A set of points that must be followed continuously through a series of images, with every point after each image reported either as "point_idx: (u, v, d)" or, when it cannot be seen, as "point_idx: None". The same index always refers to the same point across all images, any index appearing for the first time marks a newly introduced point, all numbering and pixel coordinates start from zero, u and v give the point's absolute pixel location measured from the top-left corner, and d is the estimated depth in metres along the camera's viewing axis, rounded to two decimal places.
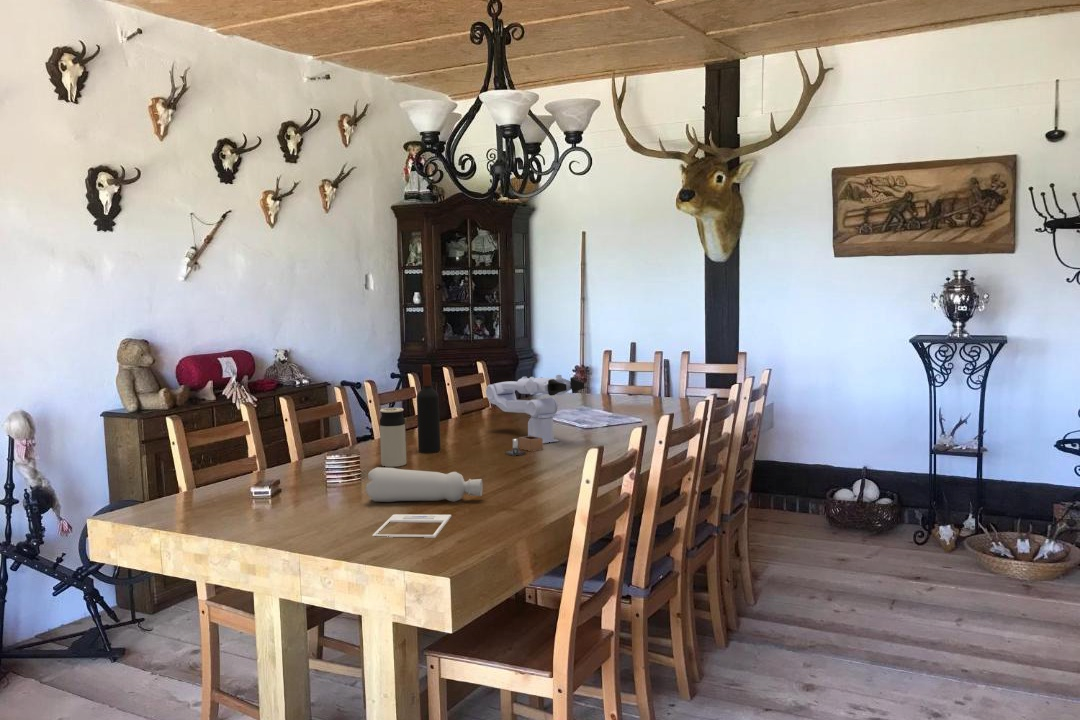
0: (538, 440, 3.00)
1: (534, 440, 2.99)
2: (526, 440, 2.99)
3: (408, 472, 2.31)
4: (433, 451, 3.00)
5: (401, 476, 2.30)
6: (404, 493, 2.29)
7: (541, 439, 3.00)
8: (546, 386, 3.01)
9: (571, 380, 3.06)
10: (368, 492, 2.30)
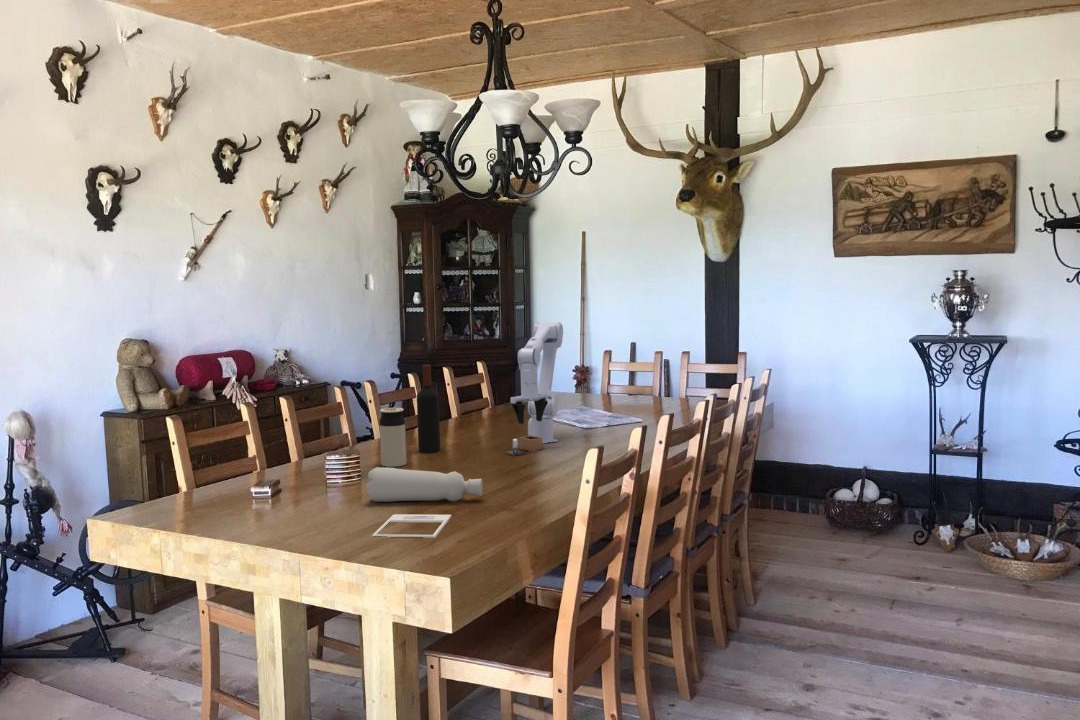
0: (538, 440, 3.00)
1: (534, 440, 2.99)
2: (526, 440, 2.99)
3: (408, 472, 2.31)
4: (433, 451, 3.00)
5: (401, 476, 2.30)
6: (404, 493, 2.29)
7: (541, 439, 3.00)
8: None
9: (541, 402, 3.01)
10: (368, 492, 2.30)
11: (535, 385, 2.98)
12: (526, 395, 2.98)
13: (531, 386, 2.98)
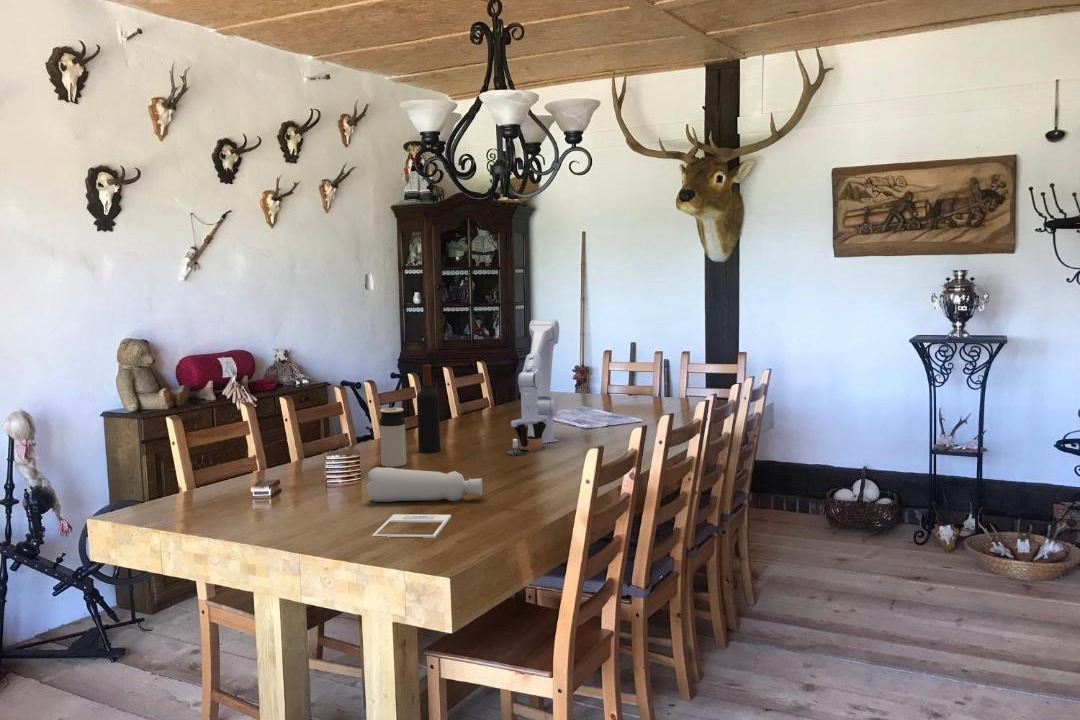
0: (538, 440, 3.00)
1: (534, 440, 2.99)
2: None
3: (408, 472, 2.31)
4: (433, 451, 3.00)
5: (401, 476, 2.30)
6: (404, 493, 2.29)
7: (541, 439, 3.00)
8: None
9: (539, 426, 3.02)
10: (368, 492, 2.30)
11: (536, 408, 2.99)
12: (527, 418, 2.99)
13: (532, 409, 2.98)
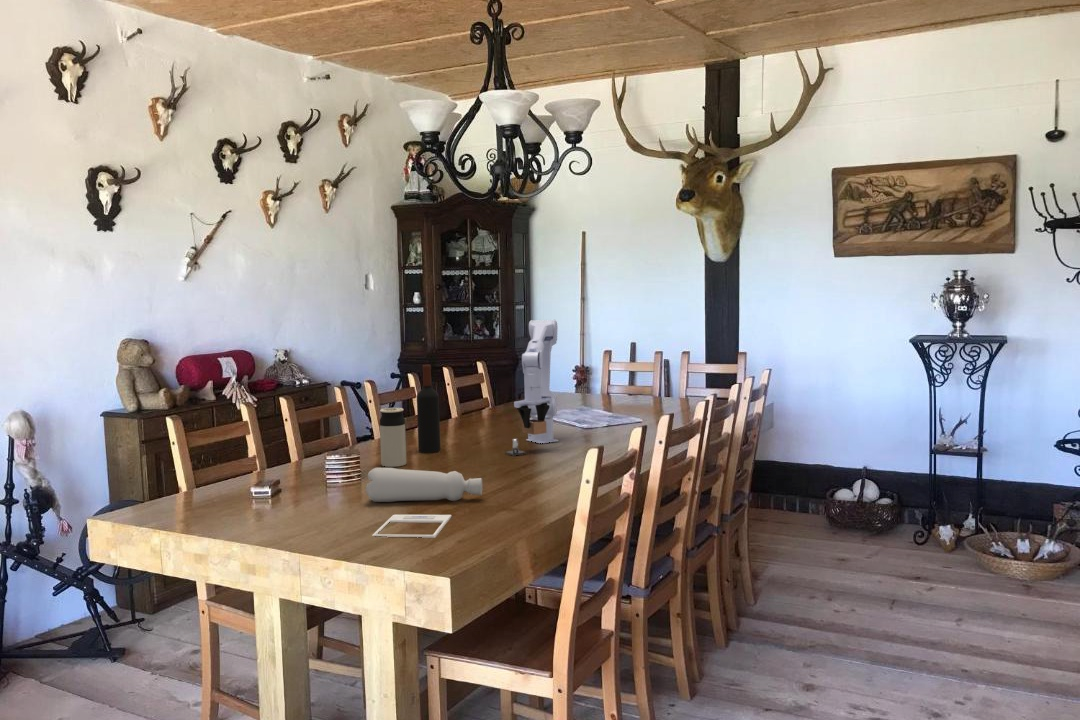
0: (542, 423, 2.95)
1: (538, 423, 2.94)
2: None
3: (408, 472, 2.31)
4: (433, 451, 3.00)
5: (401, 476, 2.30)
6: (405, 493, 2.29)
7: (545, 422, 2.96)
8: None
9: (543, 407, 2.97)
10: (368, 492, 2.30)
11: (539, 389, 2.94)
12: (530, 399, 2.94)
13: (535, 390, 2.94)
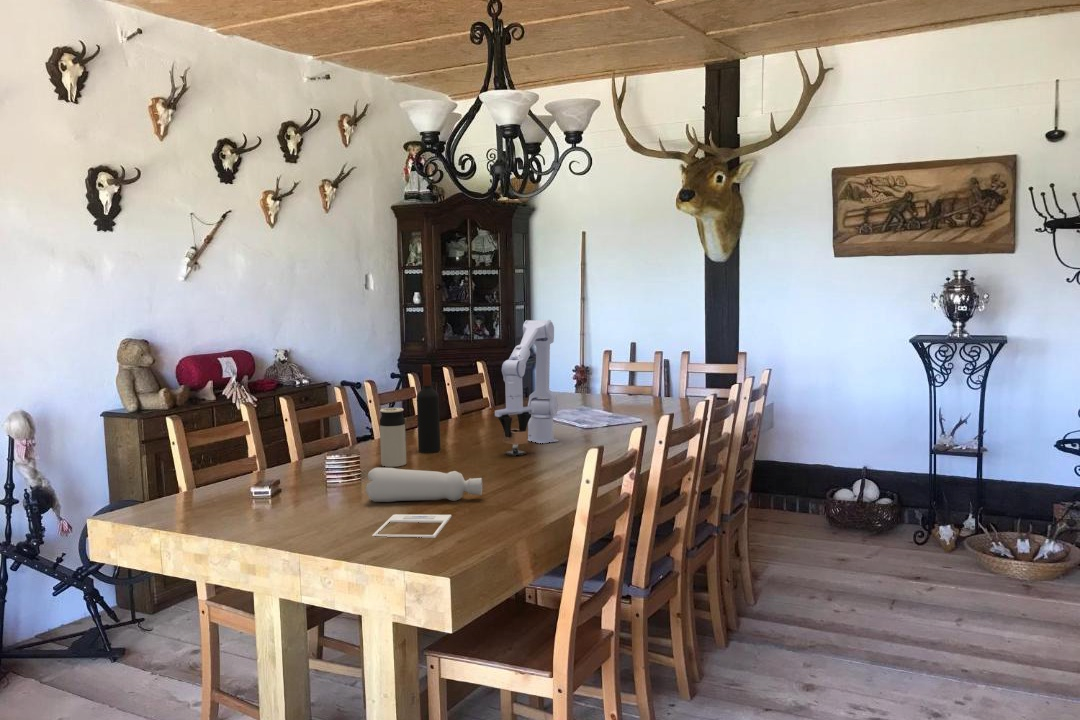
0: (523, 433, 2.91)
1: (519, 433, 2.90)
2: None
3: (408, 472, 2.31)
4: (433, 451, 3.00)
5: (402, 476, 2.30)
6: (405, 493, 2.29)
7: (526, 432, 2.91)
8: None
9: (524, 416, 2.93)
10: (368, 492, 2.30)
11: (520, 398, 2.90)
12: (511, 408, 2.90)
13: (516, 399, 2.89)
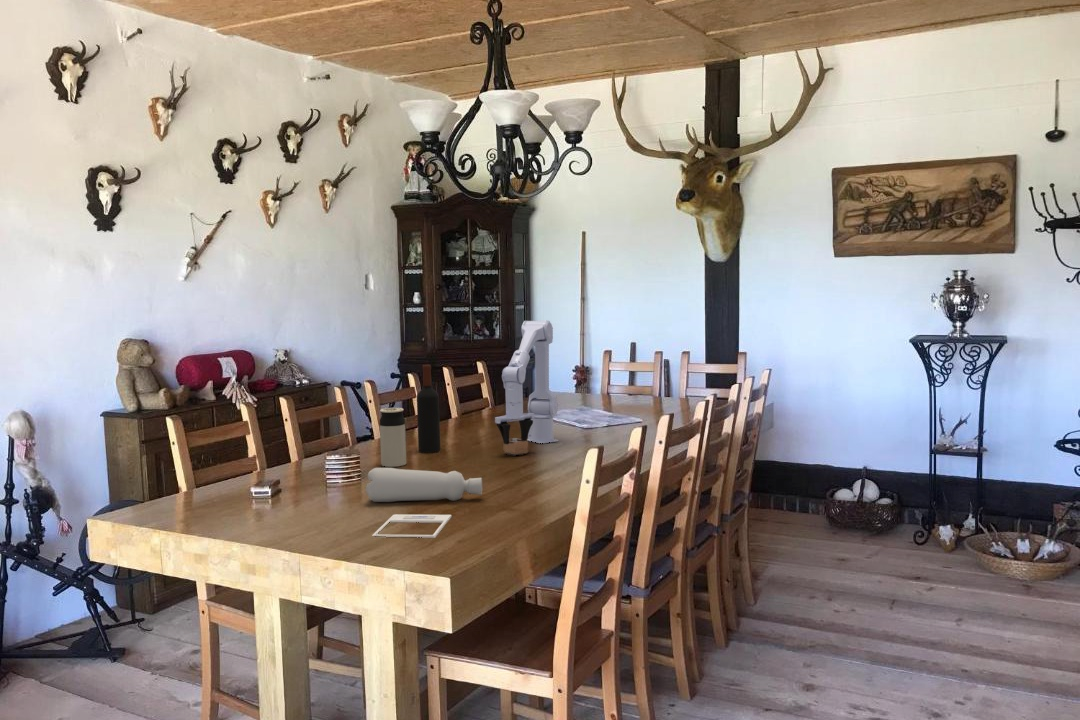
0: (523, 443, 2.91)
1: (519, 443, 2.90)
2: (511, 443, 2.91)
3: (408, 472, 2.31)
4: (433, 451, 3.00)
5: (402, 476, 2.30)
6: (405, 493, 2.29)
7: (526, 441, 2.92)
8: None
9: (526, 422, 2.93)
10: (368, 492, 2.30)
11: (520, 404, 2.90)
12: (511, 415, 2.90)
13: (516, 406, 2.90)
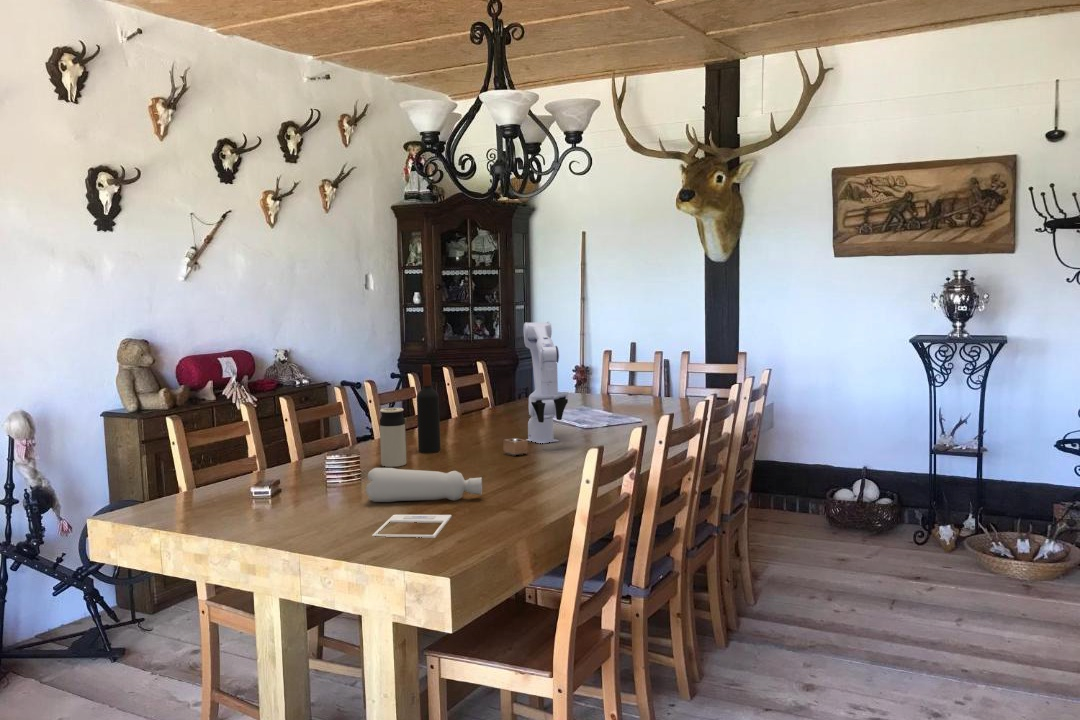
0: (523, 443, 2.91)
1: (519, 443, 2.90)
2: (511, 443, 2.91)
3: (408, 472, 2.32)
4: (433, 451, 3.00)
5: (402, 476, 2.30)
6: (405, 493, 2.30)
7: (526, 441, 2.92)
8: None
9: (561, 401, 3.00)
10: (368, 492, 2.30)
11: (555, 384, 2.97)
12: (546, 394, 2.97)
13: (551, 385, 2.96)
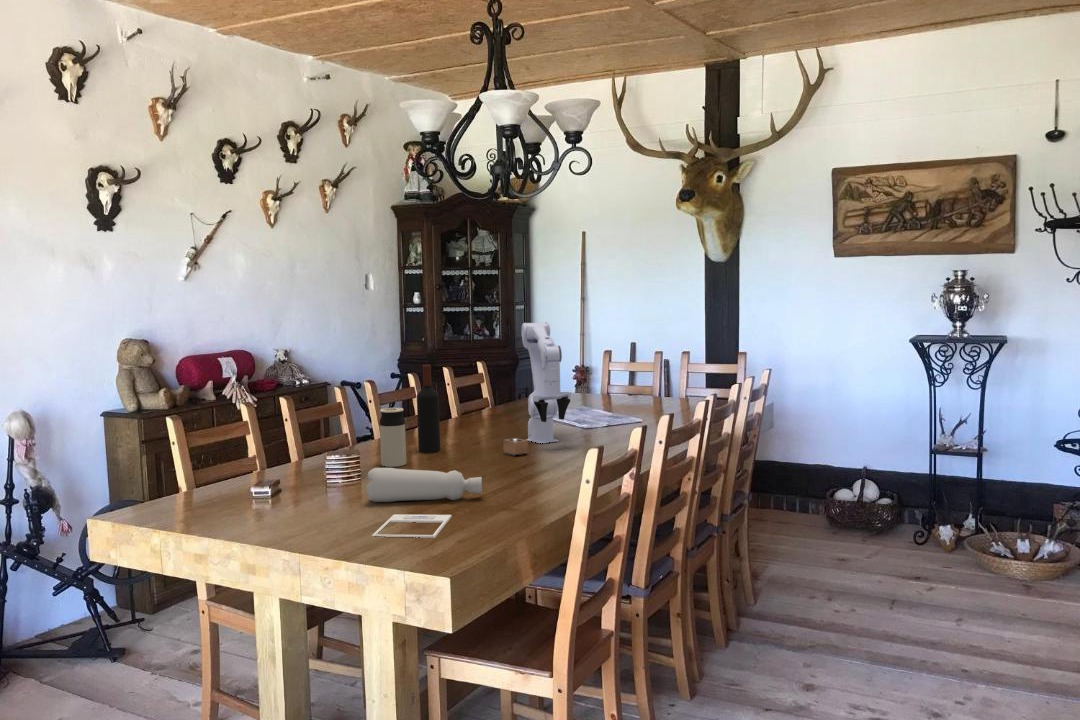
0: (523, 443, 2.91)
1: (519, 443, 2.90)
2: (511, 443, 2.91)
3: (408, 472, 2.32)
4: (433, 451, 3.00)
5: (402, 476, 2.30)
6: (405, 493, 2.30)
7: (526, 441, 2.92)
8: None
9: (564, 401, 3.01)
10: (368, 492, 2.30)
11: (558, 383, 2.98)
12: (549, 393, 2.97)
13: (554, 384, 2.97)
